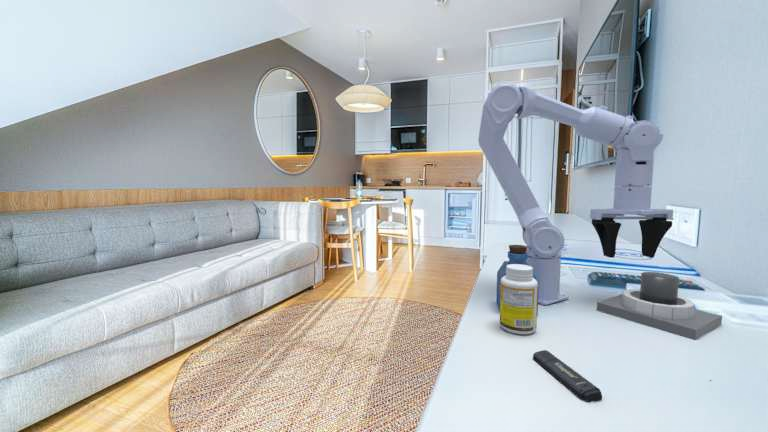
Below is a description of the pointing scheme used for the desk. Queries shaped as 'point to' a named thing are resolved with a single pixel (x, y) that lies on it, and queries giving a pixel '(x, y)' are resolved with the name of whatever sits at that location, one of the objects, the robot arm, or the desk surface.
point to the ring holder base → (662, 314)
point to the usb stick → (568, 376)
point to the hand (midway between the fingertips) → (628, 256)
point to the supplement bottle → (518, 300)
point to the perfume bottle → (515, 257)
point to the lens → (659, 288)
